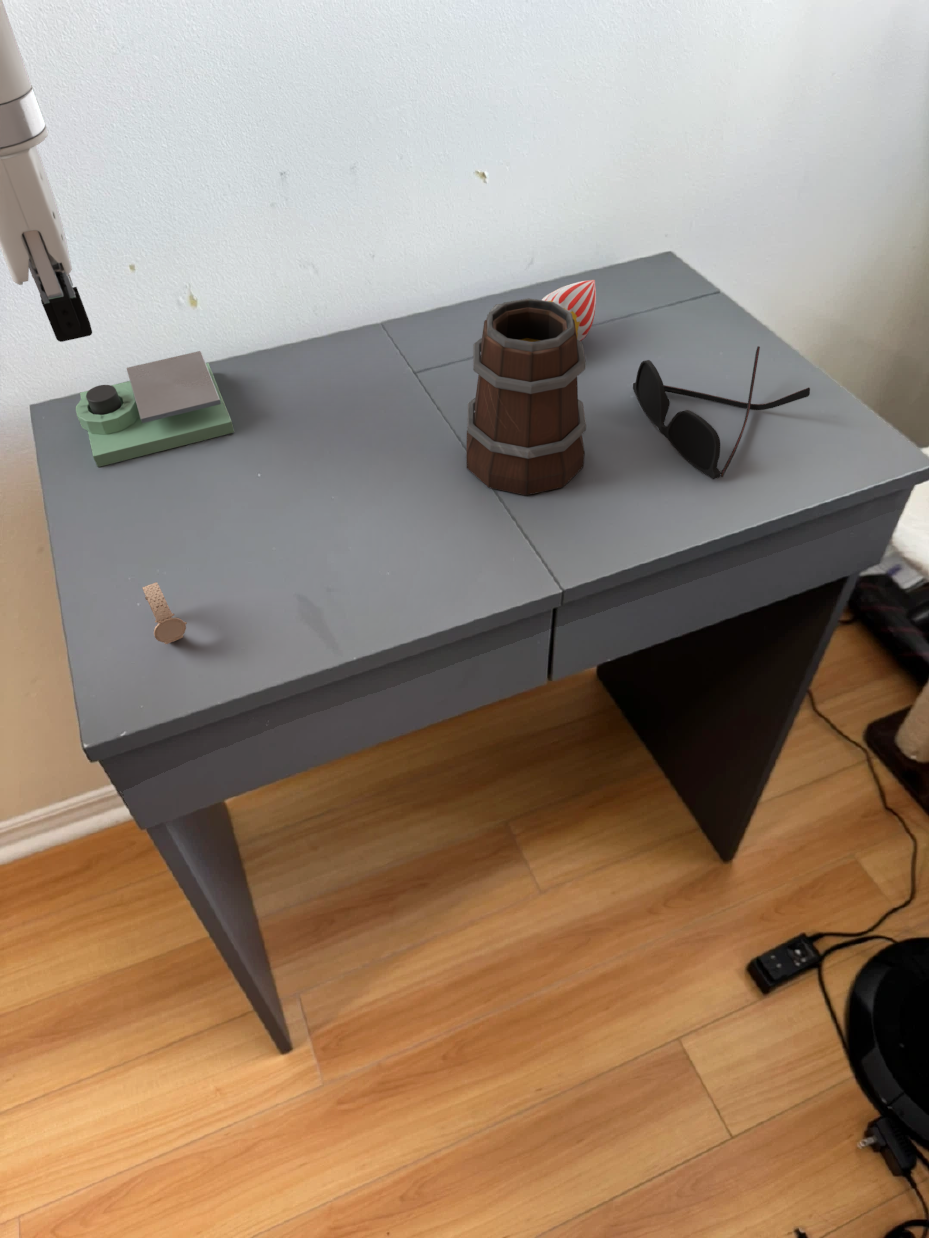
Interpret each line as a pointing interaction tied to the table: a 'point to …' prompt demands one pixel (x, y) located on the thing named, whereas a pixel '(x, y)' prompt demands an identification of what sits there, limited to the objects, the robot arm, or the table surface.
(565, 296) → the ice cream cone
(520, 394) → the wooden bucket
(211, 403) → the brushed metal plate
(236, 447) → the table surface
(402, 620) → the table surface
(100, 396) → the button
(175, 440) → the scale
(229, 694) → the table surface
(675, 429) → the sunglasses
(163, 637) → the perforated watch strap
